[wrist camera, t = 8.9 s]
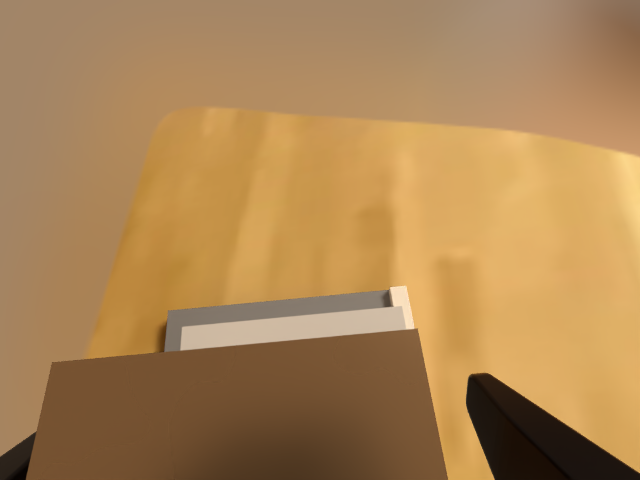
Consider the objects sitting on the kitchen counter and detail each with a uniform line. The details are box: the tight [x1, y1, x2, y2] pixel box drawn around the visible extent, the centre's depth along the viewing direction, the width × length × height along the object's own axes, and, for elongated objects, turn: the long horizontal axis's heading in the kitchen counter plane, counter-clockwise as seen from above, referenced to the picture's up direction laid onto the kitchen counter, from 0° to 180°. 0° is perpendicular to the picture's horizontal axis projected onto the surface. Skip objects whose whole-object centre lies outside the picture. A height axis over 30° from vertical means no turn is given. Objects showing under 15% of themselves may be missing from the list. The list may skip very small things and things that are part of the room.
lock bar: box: [26, 328, 448, 480], centre depth 9 cm, size 4×4×12 cm
